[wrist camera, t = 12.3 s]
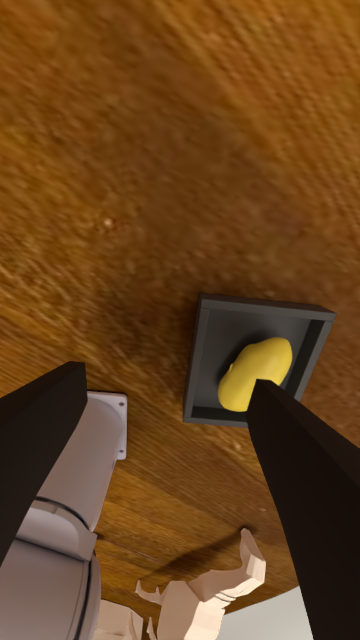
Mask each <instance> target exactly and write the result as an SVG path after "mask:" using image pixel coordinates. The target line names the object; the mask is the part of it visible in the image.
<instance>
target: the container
mask: <svg viewBox="0 0 360 640" xmlns="http://www.w3.org/2000/svg"><path fill="white" fill-rule="evenodd" d="M131 611H132V612H133V615H132V619H133V626H134V630H135V633H136V636H137V639H138V640H141V637H142V626H143V618H142V617H140V616H139V615H138V614H137V613H135V612H134V611H133V610H132V609H130V608H129V607H126V606H122V605H119V604H116V603H112V602H109V601H106V600H100V608H99V615H98V620H97V625H96V630H95V635H94V639H93V640H133V639H132V636H131V634H130V632H129V627H127V623H128V619H129V616H130V612H131Z"/></svg>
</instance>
